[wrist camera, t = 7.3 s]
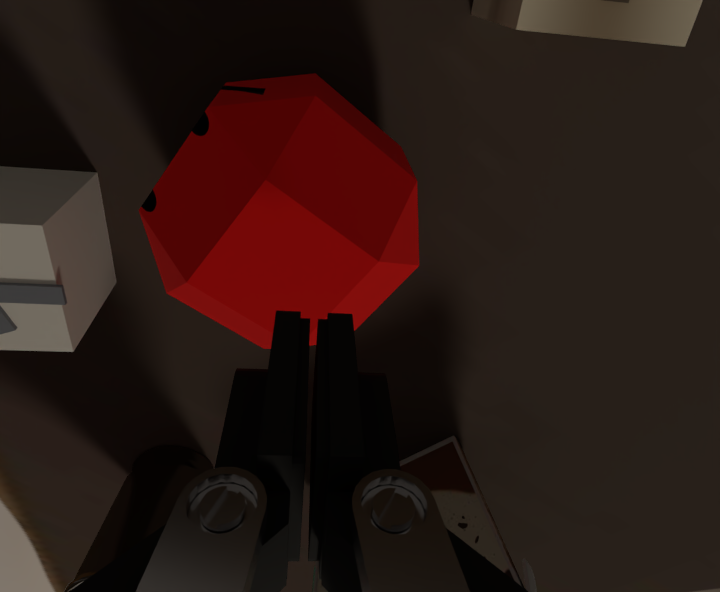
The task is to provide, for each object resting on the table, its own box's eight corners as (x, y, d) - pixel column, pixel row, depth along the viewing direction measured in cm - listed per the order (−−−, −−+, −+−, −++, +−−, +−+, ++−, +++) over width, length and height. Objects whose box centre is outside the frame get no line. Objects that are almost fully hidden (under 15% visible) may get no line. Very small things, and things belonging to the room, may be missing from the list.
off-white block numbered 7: (103, 172, 21) (46, 228, 16) (121, 281, 23) (77, 354, 19) (-40, 162, 20) (-138, 218, 16) (-5, 276, 23) (-80, 350, 18)
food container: (353, 553, 36) (365, 737, 27) (299, 509, 33) (295, 699, 24) (519, 480, 33) (591, 660, 24) (477, 423, 30) (542, 607, 21)
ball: (267, 21, 18) (242, 53, 12) (431, 163, 21) (482, 250, 15) (152, 193, 21) (81, 294, 15) (311, 295, 24) (309, 415, 18)
